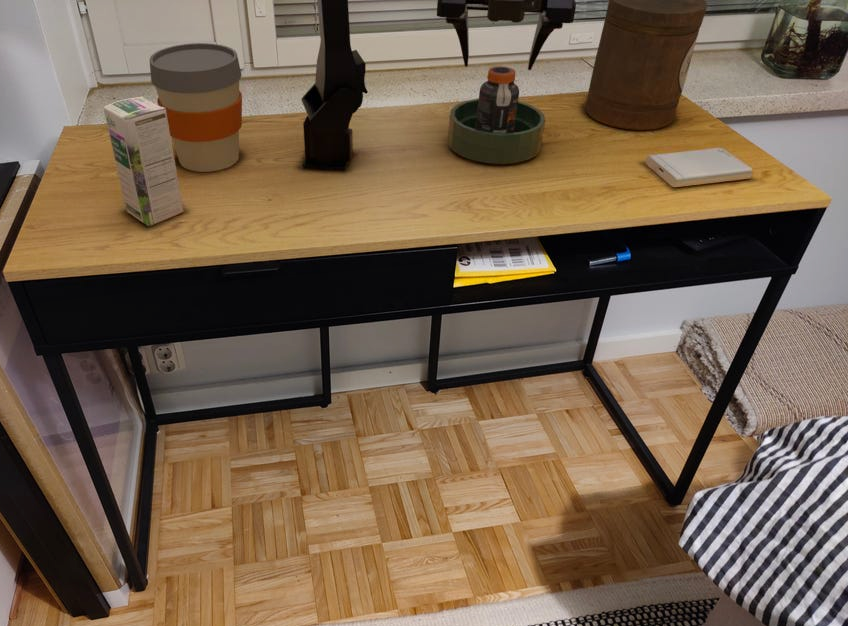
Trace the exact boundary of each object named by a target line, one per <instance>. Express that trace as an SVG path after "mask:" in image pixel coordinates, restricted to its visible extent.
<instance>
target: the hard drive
mask: <svg viewBox="0 0 848 626" xmlns="http://www.w3.org/2000/svg"><path fill="white" fill-rule="evenodd" d="M644 164H645V165H646V166H648V168H649V169H651V171H653V172H654V173H655V174H656V175H658V176H659V177H660V178H661V179H663V180H664V181H665V183H667V184H668V185H669V186H671V187H672V188H678V187H679V188H680V187H688V186H696V185H697V186H698V185H706V184H714V183H721V182H723V183H724V182H731V181H739V180H749V179H751V178H752V175H753V173H754V170H753V168H752V167H750V166H749V165H747V163H745V162H744V161H741V160H740V159H739V158H738V157H736V156H735V155H733V154H731V153H730V152H729V151H727V150H726V149H724V148H722V147H713V148H705V149H696V150H687V151H686V150H685V151H675V152H667V153H658V154H649V155H647V156H646V158H645V161H644Z"/></svg>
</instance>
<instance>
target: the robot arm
mask: <svg viewBox="0 0 848 626" xmlns="http://www.w3.org/2000/svg"><path fill="white" fill-rule="evenodd" d="M316 3H317V14H318V25H319V37H320V41H319V42H320V43H319V49H318V53H317V58H316V68H315V79H314V81H315V83H313V85H312V86H311V87H310V88H309V89H308V90H307V92H305V94H304V95H303V96H302V97H301V99H300V100H301V103H302V105H303V107H304V110H305V112H306V117H305V119H304V121H303V123H302V127H303V129H302V130H303V145H304V159H303V162H302V168H303V169H317V170H318V169H319V170H330V171H331V170H333V171H345V170H347V166H348V163H350V162H351V160H352V158H353V154H354V146H353V145H354V144H353V143H354V142H353V141H354V137H353V136H354V135H353V129H352V128H350V123H351V120H352V117H353V114H355V113H356V112H357V111H358V110H359V108H361V107H362V105H363V101H364V94H368V89H367V87H366V81H365V79H366V69H367V68H366V67H367V66H366V65H367V63H366V62H365V60H364V59H363V58H362V56H361V54H360V53H359V51H358V50H357V49H354V50H352V46H351V30H350V29H351V28H350V13H349V12H350V11H349V0H316ZM436 3H437V4H436V17H439V18H445V23H446V24H449V25H450V24H451V25H452V26H453V28H454V29H455V32H456V35H457V38H458V41H459V45H460V50H461V55H462V59H463V64H464V67H466V68H467V67H468V65H469V56H470V43H469V42H470V39H469V37H470V36H469V35H470V34H469V33H470V32H469V11H470V10H471V11H486V12H487V15H486V16H487V17H486V18H487V20H489V21H491V22H493V23H494V22H495V23H497V22H501V21H503V22H512V23H514V24H515V23H516V24H517V23H521V22H523V20H524V19H525V13H533V14H539V16H538V20H537V24H536V28H535V32H534V36H533V40H532V43H531V48H530V52H529V56H528V63H527V70H528V71H531V70H532V68H533V66H534V64H535V63H536V61H537V58H538V56H539V55H540V52H541V51H542V49H543V46H544V45H545V43H546V41H547V39H548V38H549V36H550V35H551V34H552V33H553V32H554V31H555V30H560V29H562V28H563V26H564V24H572V23H574V20H575V15H576V9H577V3H576V0H437V2H436Z"/></svg>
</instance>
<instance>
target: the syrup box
mask: <svg viewBox="0 0 848 626" xmlns="http://www.w3.org/2000/svg"><path fill="white" fill-rule="evenodd" d="M102 108H103V113H104V117H105V121H106V127H107V130H108V134H109V139H110V143H111V148H112V153H113V157H114V162H115V166H116V170H117V175H118V179H119V184H120V188H121V193H122V196H123V200H124V205H125V209H126V212H127V214H129V215H131V216H132V217H134V219H137V220H138V221H139V222H141V223H143V224H144V225H145V226H147V227H151V226H153V225H155V224H156V225H157V224H158V223H160V222H163V221H165V220H168V219H170V218H173V217H175V216H177V215H179V214H180V215H181V214H182V213H184V207H183V201H182V195H181V189H180V183H179V177H178V171H177V165H176V160H175V155H174V148H173V141H172V137H171V136H170V131H169V125H168V120H167V114H166V109H165V108H164V107H160V106H159V105H158V103H155V102H153V101H151V100H150V99H147V98H146V97H144V96H136V97H128V98H125V99H121V100H117V101H115V102H112V103H109V104H106V105H104V106H103V107H102Z"/></svg>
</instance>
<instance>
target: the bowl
mask: <svg viewBox="0 0 848 626" xmlns="http://www.w3.org/2000/svg"><path fill="white" fill-rule="evenodd" d="M478 101H479V97H478V98H473V99H468V100H464V101H462V102H460V103H457V104H455V106H453V107H452V108H451V109H450V113H449V122H448V123H449V125H448V135H447V145H448V147H449V148H450V150H451V151H452V152H454V153H455V154H457V155H458V156H460V157H463V158H465V159H468V160H470V161H475V162H479V163H483V164H492V165H507V164H517V163H521V162H524V161H528V160H530V159H532V158H534V157H535V156H537V155H538V153H539V152H540V151H541V149H542V143H543V137H544V131H545V126H546V116H545V114H544V113H543V112H542V111H541V110H540V109H539V108H537V107H535V106H534V105H532V104H529V103H526V102H523V101H520V100H518V105H517V112H516V119H515V125H514V132H513V133H491V132H485V131H480V130H476V129H475V127H476V118H477V110H478Z"/></svg>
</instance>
